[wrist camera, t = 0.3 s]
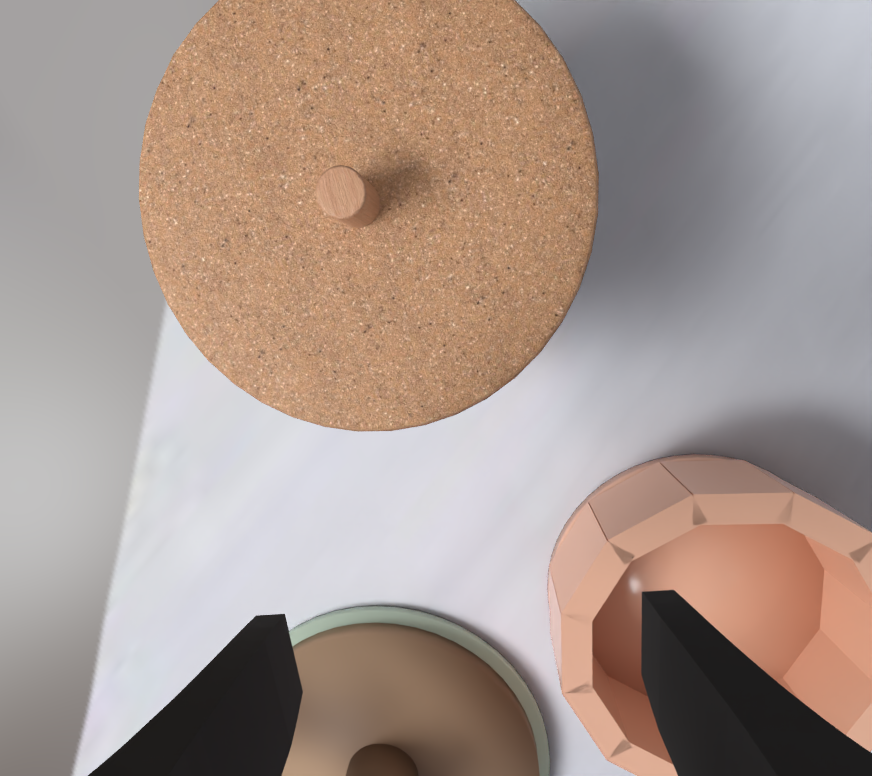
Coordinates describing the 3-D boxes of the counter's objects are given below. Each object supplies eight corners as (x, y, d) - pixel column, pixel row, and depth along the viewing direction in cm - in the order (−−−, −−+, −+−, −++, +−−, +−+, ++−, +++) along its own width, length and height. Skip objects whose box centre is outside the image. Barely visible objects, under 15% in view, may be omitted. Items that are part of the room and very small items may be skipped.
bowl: (733, 754, 22) (787, 852, 18) (498, 633, 22) (502, 706, 18) (897, 538, 20) (997, 598, 16) (638, 403, 20) (676, 431, 16)
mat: (456, 928, 25) (455, 938, 25) (189, 793, 25) (184, 801, 25) (610, 702, 22) (612, 710, 22) (311, 549, 22) (307, 554, 22)
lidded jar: (513, 35, 18) (544, -221, 9) (584, 339, 20) (672, 383, 11) (226, 133, 20) (2, -3, 11) (314, 410, 21) (187, 503, 12)
